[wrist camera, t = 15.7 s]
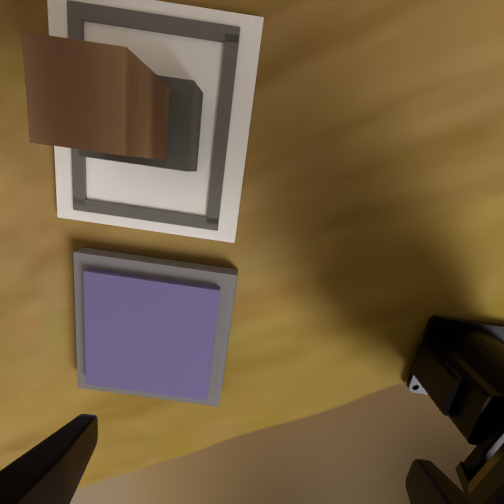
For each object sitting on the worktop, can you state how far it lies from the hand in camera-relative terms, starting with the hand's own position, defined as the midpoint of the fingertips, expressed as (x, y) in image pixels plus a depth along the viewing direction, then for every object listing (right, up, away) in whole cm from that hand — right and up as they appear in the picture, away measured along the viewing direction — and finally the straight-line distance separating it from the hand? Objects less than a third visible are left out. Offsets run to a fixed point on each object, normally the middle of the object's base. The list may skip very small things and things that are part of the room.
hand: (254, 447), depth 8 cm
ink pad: (-7, 0, +14) cm, 16 cm away
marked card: (-6, +13, +10) cm, 18 cm away
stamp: (-6, +13, +9) cm, 17 cm away
